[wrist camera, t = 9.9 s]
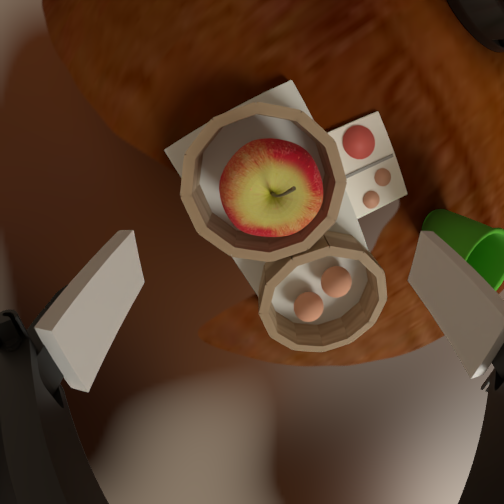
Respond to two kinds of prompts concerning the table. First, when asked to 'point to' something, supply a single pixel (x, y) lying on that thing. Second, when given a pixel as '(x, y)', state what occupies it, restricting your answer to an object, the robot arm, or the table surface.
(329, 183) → the ring
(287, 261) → the ring
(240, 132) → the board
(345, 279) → the ball
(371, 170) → the card
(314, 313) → the ball
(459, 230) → the cup
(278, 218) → the apple
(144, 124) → the table surface
